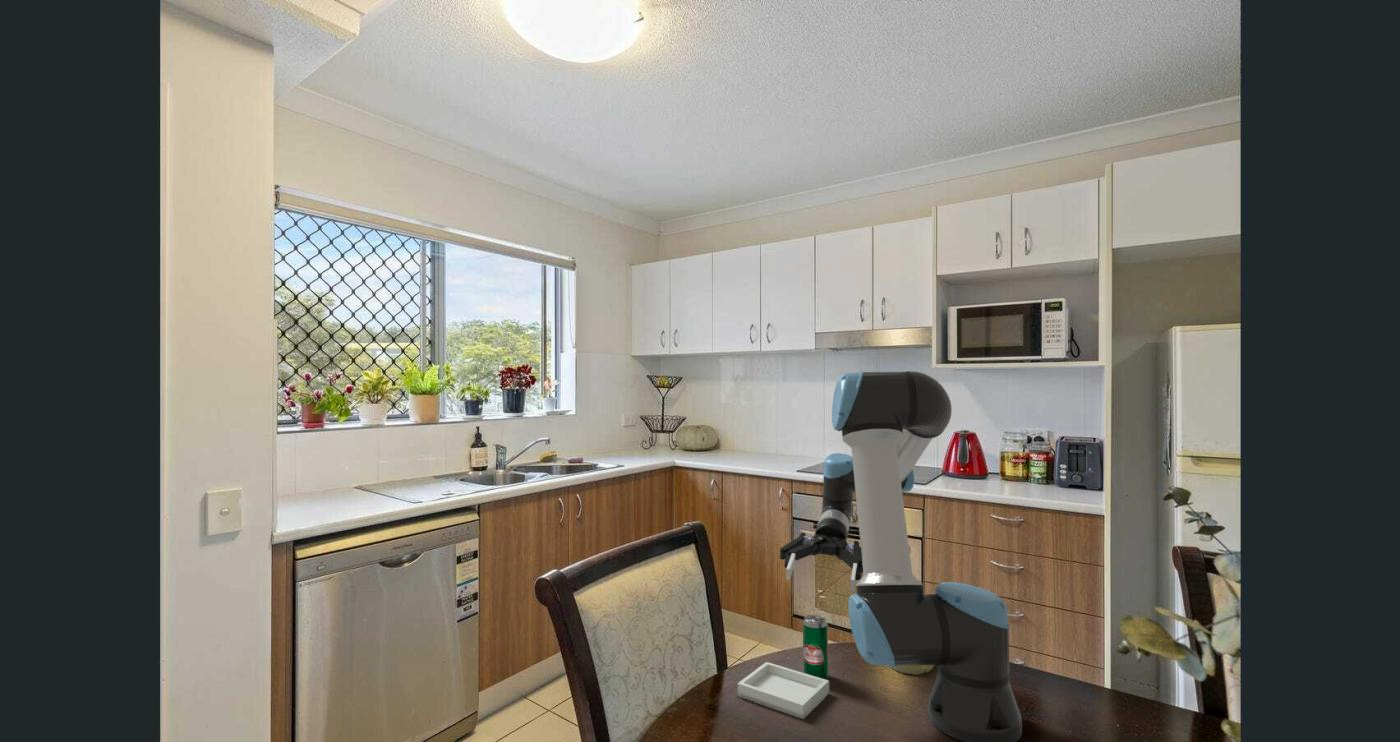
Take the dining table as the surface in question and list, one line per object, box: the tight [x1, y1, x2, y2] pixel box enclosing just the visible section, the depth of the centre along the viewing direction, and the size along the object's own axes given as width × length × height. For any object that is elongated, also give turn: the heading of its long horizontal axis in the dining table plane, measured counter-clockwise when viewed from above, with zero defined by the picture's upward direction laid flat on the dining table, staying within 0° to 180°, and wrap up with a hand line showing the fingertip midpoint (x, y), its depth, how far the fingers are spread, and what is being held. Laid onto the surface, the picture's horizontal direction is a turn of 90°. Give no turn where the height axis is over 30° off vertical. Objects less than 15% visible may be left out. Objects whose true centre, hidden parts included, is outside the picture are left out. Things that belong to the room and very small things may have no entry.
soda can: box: [802, 614, 830, 680], centre depth 126 cm, size 5×5×12 cm
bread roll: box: [890, 665, 935, 676], centre depth 130 cm, size 8×9×4 cm
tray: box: [737, 661, 830, 720], centre depth 119 cm, size 14×11×2 cm
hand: (819, 579), depth 131 cm, fingers open, 13 cm apart
